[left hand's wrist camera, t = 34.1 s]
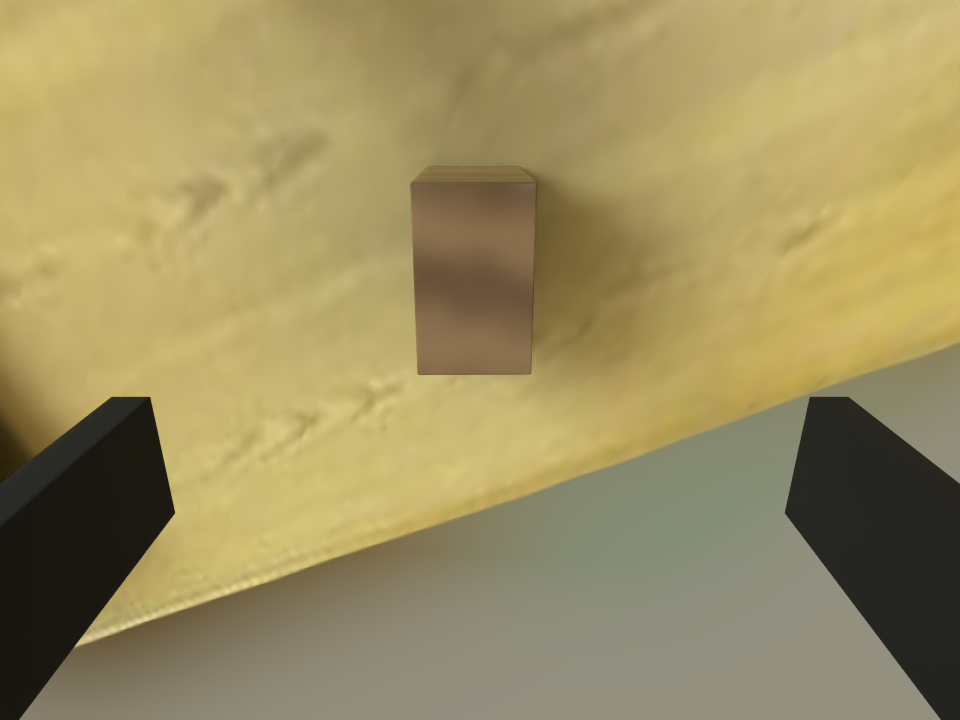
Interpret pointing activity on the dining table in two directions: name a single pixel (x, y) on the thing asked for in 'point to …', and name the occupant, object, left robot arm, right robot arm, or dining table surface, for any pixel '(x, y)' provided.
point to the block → (473, 269)
